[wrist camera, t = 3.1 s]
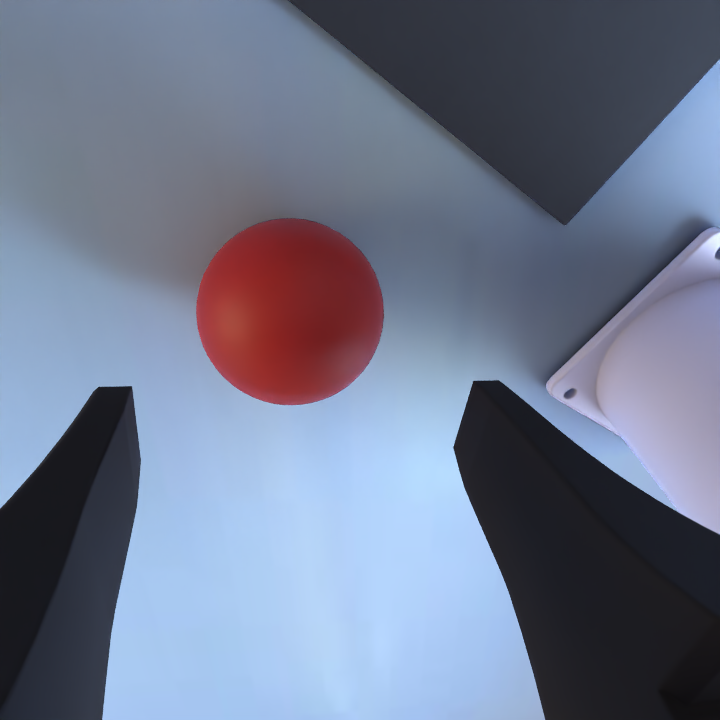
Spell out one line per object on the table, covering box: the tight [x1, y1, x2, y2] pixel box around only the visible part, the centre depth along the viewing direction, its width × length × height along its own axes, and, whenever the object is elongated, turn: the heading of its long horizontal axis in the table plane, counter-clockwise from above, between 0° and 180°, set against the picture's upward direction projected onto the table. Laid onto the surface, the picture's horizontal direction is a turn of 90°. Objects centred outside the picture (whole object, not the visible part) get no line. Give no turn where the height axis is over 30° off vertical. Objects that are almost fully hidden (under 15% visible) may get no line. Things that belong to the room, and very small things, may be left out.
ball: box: [196, 218, 384, 405], centre depth 16 cm, size 5×5×5 cm
